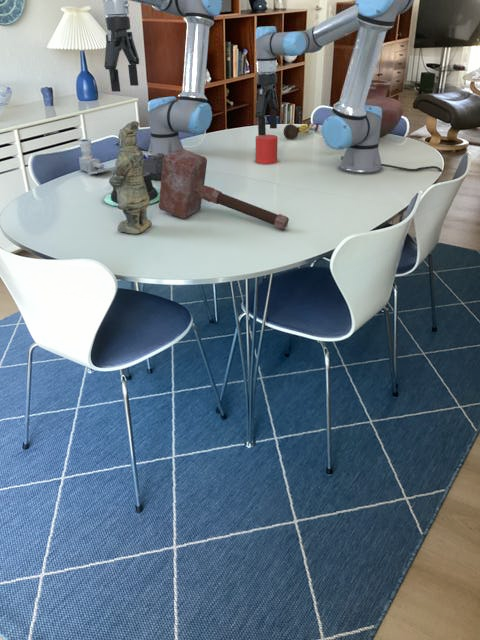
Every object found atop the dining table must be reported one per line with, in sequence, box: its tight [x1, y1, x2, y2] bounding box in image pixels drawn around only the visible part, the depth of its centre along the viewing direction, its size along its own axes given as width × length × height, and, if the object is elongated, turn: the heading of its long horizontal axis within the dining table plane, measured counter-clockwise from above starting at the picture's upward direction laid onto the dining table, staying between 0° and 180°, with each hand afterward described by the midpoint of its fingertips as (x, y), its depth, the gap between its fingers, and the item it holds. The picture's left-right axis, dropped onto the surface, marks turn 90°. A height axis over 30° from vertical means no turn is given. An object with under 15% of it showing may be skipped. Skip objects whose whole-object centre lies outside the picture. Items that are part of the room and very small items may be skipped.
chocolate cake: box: [103, 169, 160, 207], centre depth 186 cm, size 15×19×20 cm
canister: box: [255, 134, 278, 165], centre depth 222 cm, size 9×9×10 cm
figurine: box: [282, 120, 319, 140], centre depth 263 cm, size 13×8×25 cm
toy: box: [142, 151, 165, 181], centre depth 205 cm, size 9×9×15 cm
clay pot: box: [364, 78, 404, 139], centre depth 247 cm, size 30×30×25 cm
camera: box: [78, 138, 115, 176], centre depth 211 cm, size 9×12×15 cm
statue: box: [108, 120, 153, 235], centre depth 154 cm, size 11×9×30 cm
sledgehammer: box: [158, 149, 290, 231], centre depth 163 cm, size 17×10×40 cm
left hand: (125, 88), depth 185 cm, fingers open, 13 cm apart
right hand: (267, 131), depth 218 cm, fingers open, 13 cm apart
